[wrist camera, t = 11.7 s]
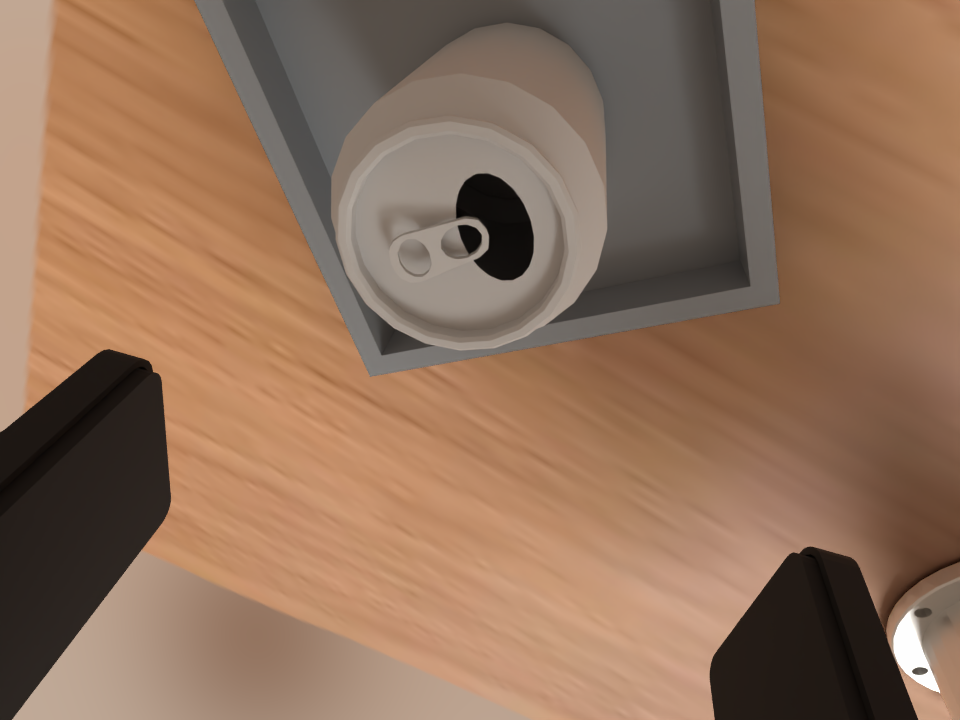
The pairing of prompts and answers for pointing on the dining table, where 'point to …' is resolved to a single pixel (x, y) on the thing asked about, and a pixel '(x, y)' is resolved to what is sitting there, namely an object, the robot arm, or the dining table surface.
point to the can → (476, 190)
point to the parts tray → (628, 126)
